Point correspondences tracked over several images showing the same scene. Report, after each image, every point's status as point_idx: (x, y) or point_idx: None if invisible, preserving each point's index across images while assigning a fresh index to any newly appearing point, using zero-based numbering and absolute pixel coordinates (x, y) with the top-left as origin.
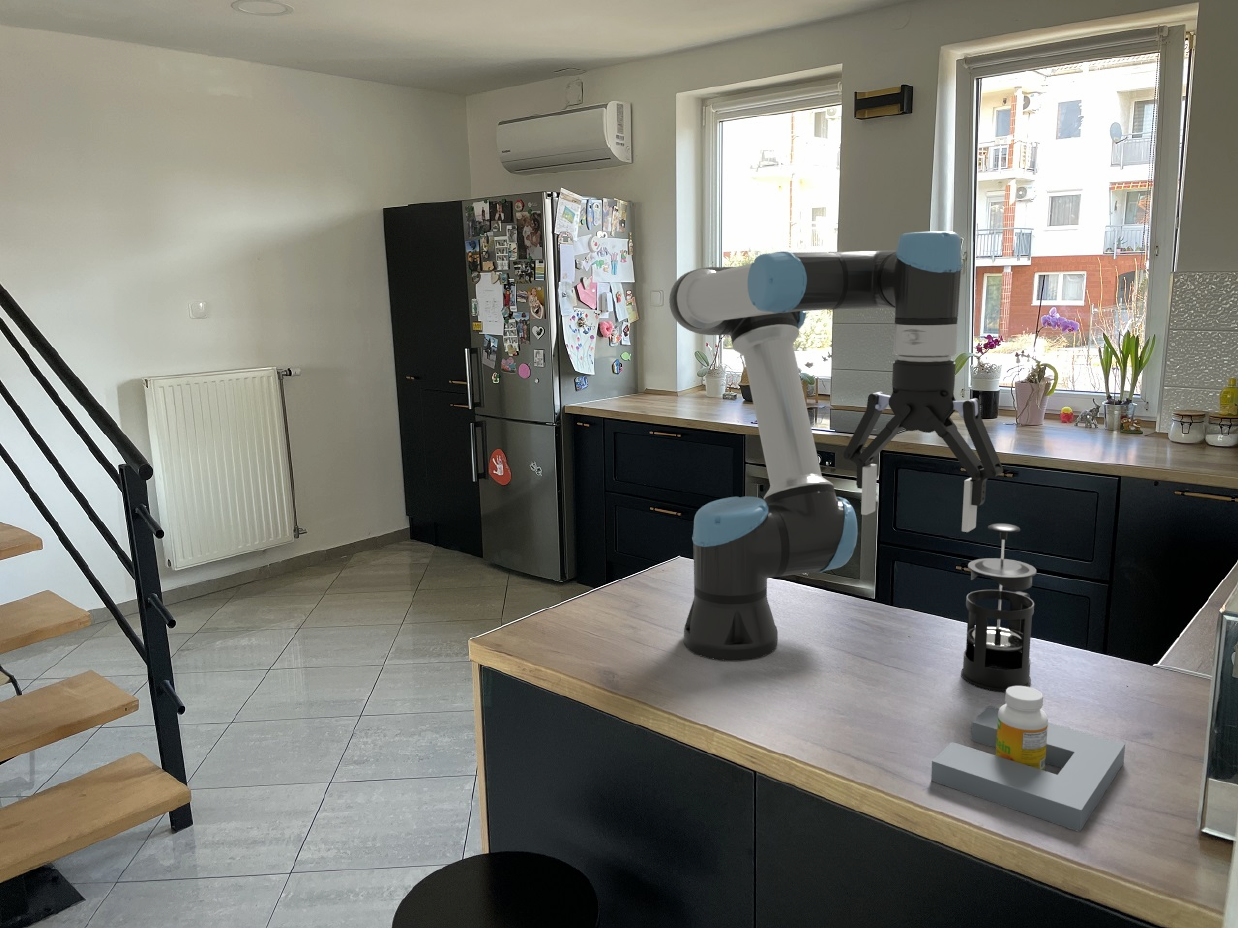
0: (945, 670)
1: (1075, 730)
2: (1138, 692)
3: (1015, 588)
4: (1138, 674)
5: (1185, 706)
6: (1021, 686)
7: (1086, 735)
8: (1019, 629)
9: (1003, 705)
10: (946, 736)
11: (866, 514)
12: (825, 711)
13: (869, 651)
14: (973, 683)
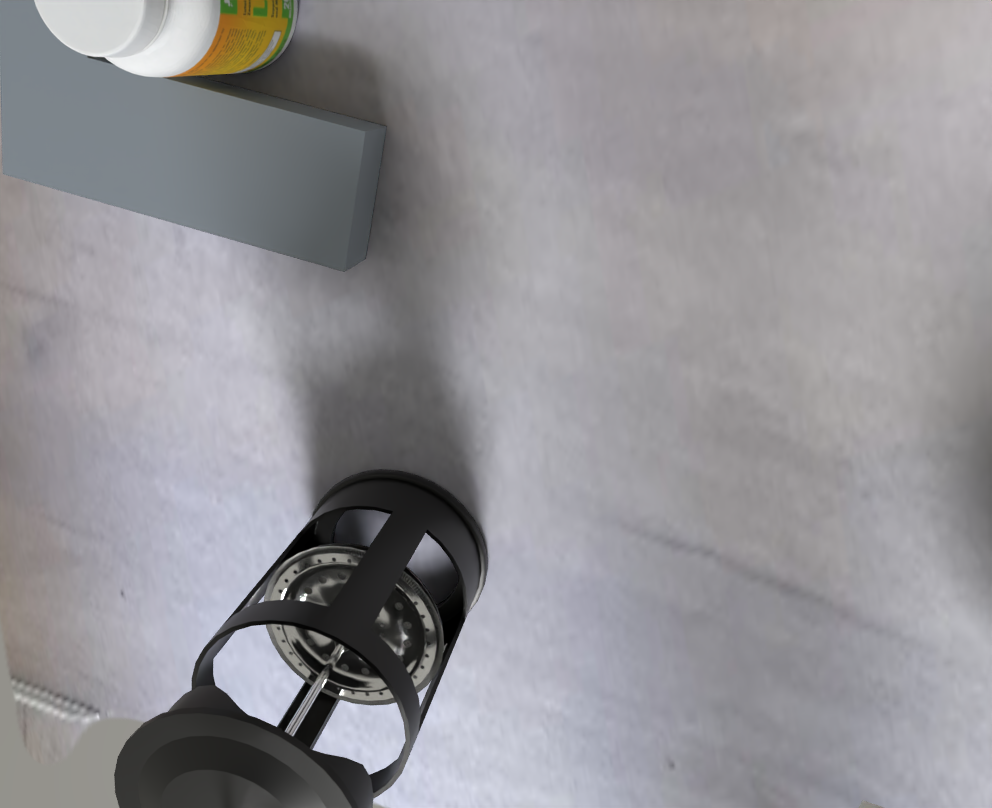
0: (532, 565)
1: (116, 202)
2: (95, 567)
3: (191, 695)
4: (114, 661)
5: (3, 524)
6: (108, 45)
7: (87, 182)
8: (302, 687)
9: (191, 4)
10: (454, 121)
11: (862, 806)
12: (864, 132)
13: (776, 637)
14: (441, 491)
